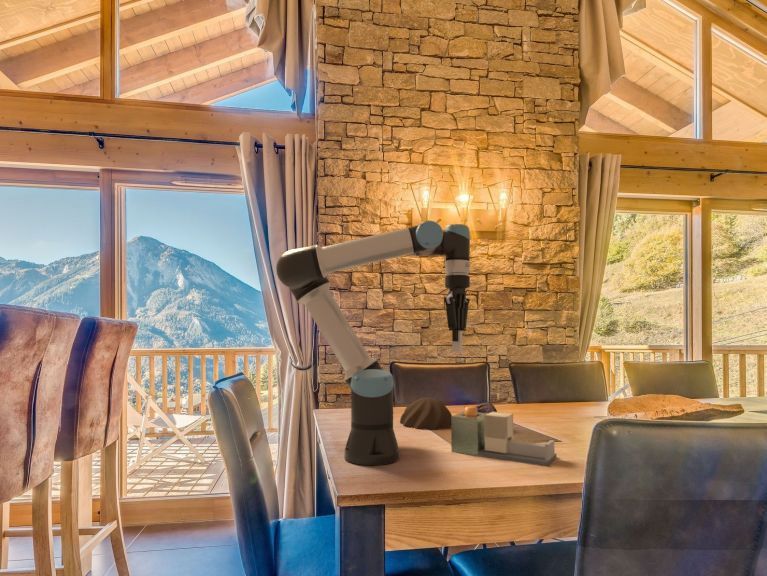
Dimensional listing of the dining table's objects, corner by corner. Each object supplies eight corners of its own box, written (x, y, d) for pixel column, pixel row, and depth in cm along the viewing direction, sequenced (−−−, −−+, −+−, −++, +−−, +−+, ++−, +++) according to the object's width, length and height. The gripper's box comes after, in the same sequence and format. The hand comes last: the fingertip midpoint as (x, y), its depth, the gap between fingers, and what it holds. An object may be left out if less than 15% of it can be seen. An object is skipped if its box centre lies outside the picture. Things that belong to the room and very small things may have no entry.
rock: (465, 433, 173) (493, 436, 168) (463, 409, 172) (491, 411, 167) (476, 422, 183) (503, 424, 178) (474, 399, 182) (501, 401, 177)
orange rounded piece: (474, 423, 144) (474, 408, 144) (462, 422, 146) (462, 407, 146) (479, 421, 147) (478, 407, 147) (467, 420, 149) (467, 405, 149)
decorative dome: (461, 422, 187) (461, 395, 188) (441, 432, 170) (440, 402, 170) (414, 417, 196) (414, 391, 197) (390, 426, 179) (390, 398, 180)
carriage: (505, 453, 137) (505, 417, 138) (484, 450, 140) (484, 415, 141) (513, 448, 143) (513, 413, 143) (493, 445, 146) (492, 411, 147)
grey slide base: (547, 466, 129) (546, 446, 130) (477, 455, 140) (477, 437, 140) (556, 457, 138) (556, 438, 138) (490, 447, 148) (490, 430, 148)
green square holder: (477, 455, 140) (477, 419, 140) (451, 451, 144) (451, 416, 145) (490, 447, 148) (490, 413, 149) (465, 444, 152) (465, 411, 153)
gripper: (458, 272, 146) (458, 353, 145) (477, 276, 157) (477, 351, 155) (436, 273, 151) (435, 352, 149) (456, 277, 161) (455, 350, 160)
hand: (457, 352), depth 152 cm, fingers closed
